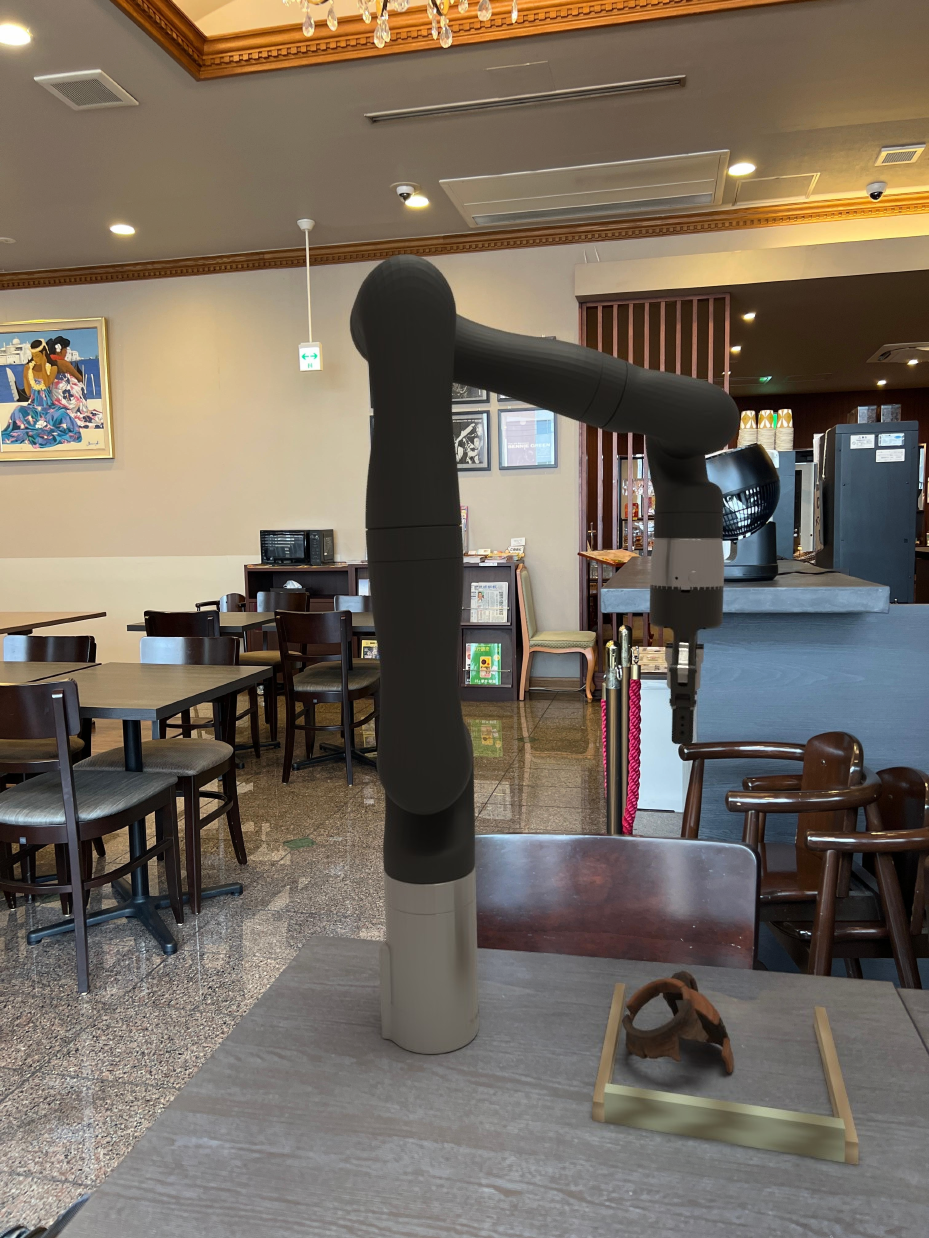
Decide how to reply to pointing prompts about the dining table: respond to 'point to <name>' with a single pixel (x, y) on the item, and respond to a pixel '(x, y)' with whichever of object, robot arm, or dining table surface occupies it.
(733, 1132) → the bay
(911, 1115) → the dining table surface
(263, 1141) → the dining table surface
